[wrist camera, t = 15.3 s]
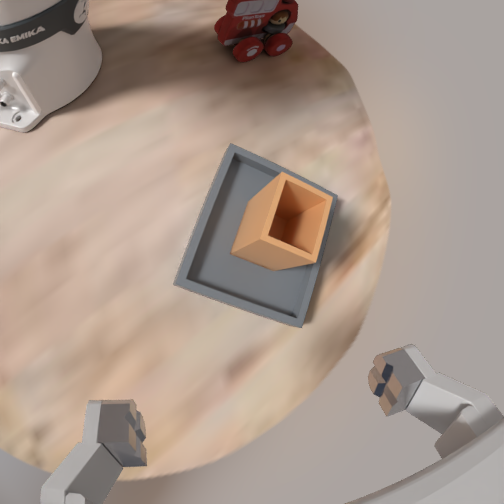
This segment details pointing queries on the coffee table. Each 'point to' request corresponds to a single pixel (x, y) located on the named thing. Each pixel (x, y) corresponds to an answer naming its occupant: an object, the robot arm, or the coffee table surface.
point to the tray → (222, 238)
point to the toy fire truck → (257, 27)
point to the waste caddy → (283, 225)
